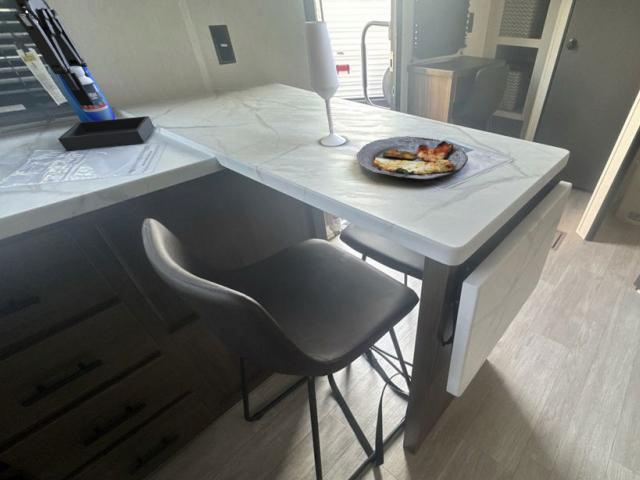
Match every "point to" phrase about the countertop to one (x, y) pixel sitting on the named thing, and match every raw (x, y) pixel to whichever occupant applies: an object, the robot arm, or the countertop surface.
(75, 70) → the pill bottle
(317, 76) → the champagne flute
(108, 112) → the beer can
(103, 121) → the tray
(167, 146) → the countertop surface
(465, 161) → the food plate
